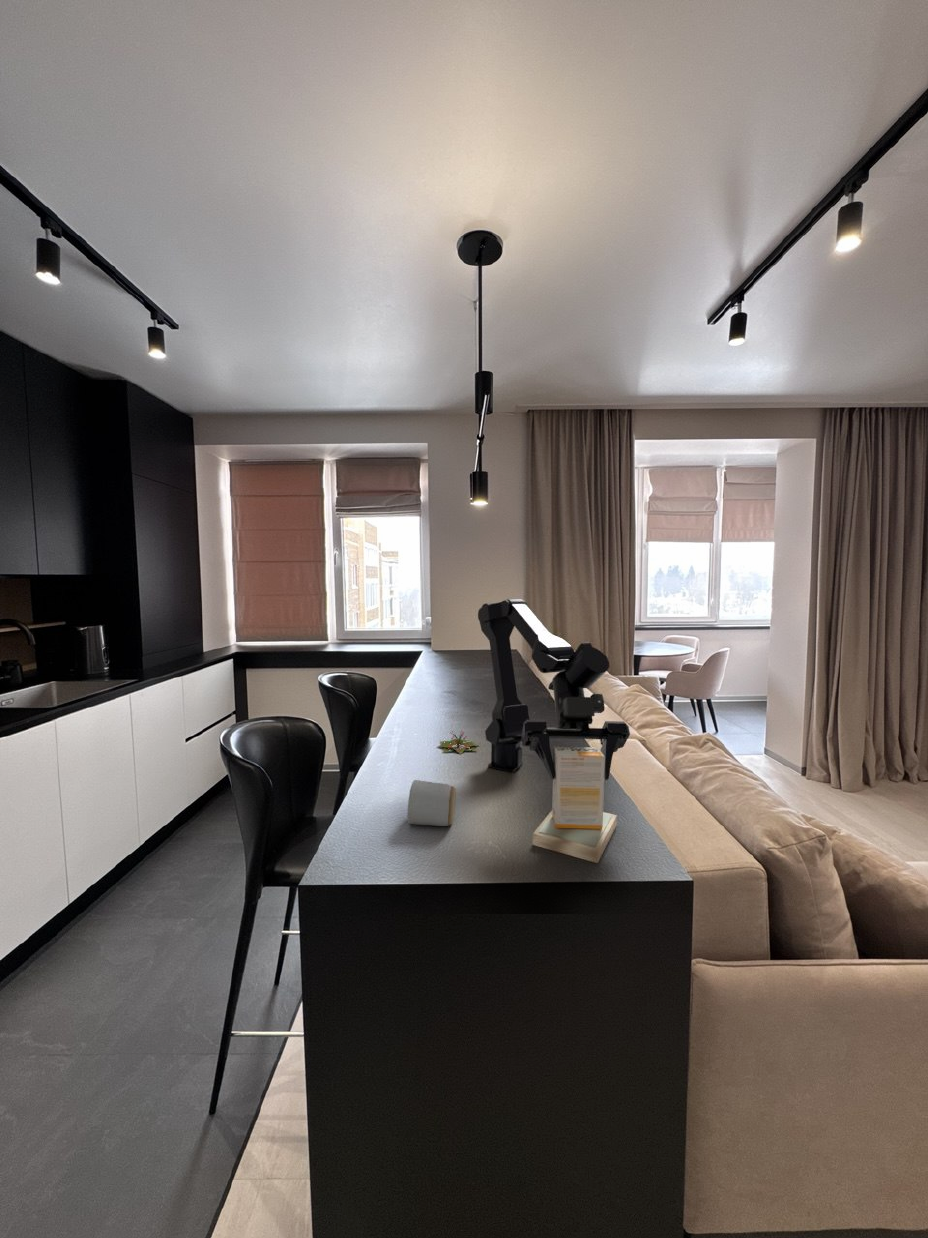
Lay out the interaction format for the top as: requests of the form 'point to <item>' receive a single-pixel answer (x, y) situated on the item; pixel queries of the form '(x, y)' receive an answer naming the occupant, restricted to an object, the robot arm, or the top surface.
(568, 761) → the supplement box
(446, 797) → the ceramic mug
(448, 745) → the lily flower
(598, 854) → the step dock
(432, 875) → the top surface
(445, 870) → the top surface
